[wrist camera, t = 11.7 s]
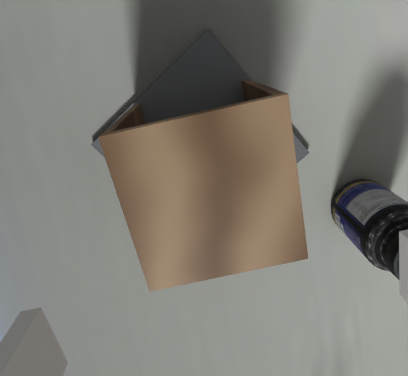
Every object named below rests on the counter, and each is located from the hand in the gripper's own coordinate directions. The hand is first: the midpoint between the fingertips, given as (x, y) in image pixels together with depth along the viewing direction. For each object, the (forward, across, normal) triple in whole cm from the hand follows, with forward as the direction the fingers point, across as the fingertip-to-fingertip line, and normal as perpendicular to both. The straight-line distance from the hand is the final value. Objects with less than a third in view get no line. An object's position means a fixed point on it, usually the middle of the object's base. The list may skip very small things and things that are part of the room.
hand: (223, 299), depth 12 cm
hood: (+22, 0, 0) cm, 22 cm away
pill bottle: (+23, +15, -10) cm, 29 cm away
